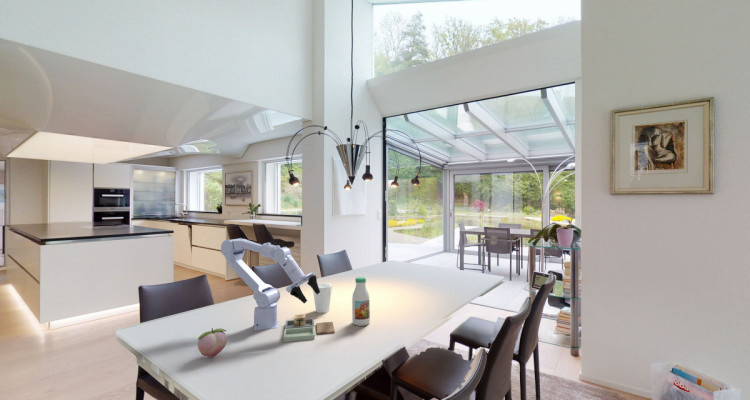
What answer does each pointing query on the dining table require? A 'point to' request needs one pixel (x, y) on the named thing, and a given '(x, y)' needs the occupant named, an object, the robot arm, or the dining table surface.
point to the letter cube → (299, 320)
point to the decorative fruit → (212, 342)
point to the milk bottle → (360, 303)
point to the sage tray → (298, 334)
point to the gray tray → (291, 325)
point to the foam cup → (323, 298)
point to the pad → (325, 328)
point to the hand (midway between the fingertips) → (312, 297)
